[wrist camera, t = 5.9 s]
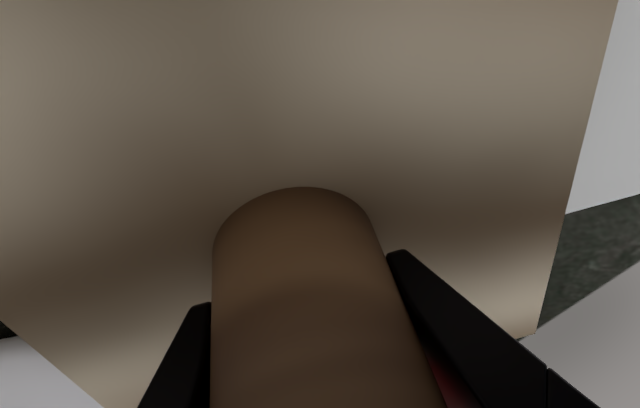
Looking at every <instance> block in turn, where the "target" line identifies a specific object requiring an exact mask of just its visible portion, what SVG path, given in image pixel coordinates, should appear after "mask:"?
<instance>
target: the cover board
mask: <svg viewBox="0 0 640 408" xmlns="http://www.w3.org/2000/svg"><path fill="white" fill-rule="evenodd" d="M617 4H618V0H0V321H1V322H3V323H4V324H5V325H6V326H7V327H9V328H10V329H11V330H12V331H13V332H14V333H16V334H17V335H18V336H19V337H20V338H22V339H23V340H24V341H25V342H26V343H28V344H29V345H30V346H31V347H32V348H33V349H35V350H36V351H37V352H38V353H39V354H41V355H42V356H43V357H44V358H45V359H47V360H48V361H49V362H50V363H51V364H53V365H54V366H55V367H56V368H57V369H58V370H60V371H61V372H62V373H63V374H64V375H66V376H67V377H68V378H69V379H70V380H72V381H73V382H74V383H75V384H76V385H77V386H79V387H80V388H81V389H82V390H83V391H85V392H86V393H87V394H88V395H89V396H91V397H92V398H93V399H94V400H95V401H96V402H98V403H99V404H100V405H101V406H102V407H104V408H137V407H138V405H139V403H140V401H141V399H142V397H143V395H144V393H145V392H146V390H147V388H148V386H149V384H150V382H151V380H152V378H153V376H154V375H155V373H156V371H157V369H158V367H159V365H160V363H161V361H162V360H163V358H164V356H165V354H166V352H167V350H168V348H169V346H170V344H171V343H172V341H173V339H174V337H175V335H176V333H177V331H178V329H179V327H180V326H181V324H182V322H183V320H184V318H185V316H186V314H187V312H188V310H189V309H190V308H191V307H192V306H194V305H197V304H201V303H204V302H211V356H210V408H448V407H447V405H446V402H445V400H444V398H443V395H442V393H441V390H440V388H439V385H438V383H437V381H436V378H435V376H434V373H433V371H432V369H431V366H430V364H429V361H428V359H427V356H426V354H425V352H424V349H423V347H422V344H421V342H420V340H419V337H418V335H417V332H416V330H415V328H414V325H413V323H412V320H411V318H410V315H409V313H408V311H407V308H406V306H405V304H404V301H403V299H402V296H401V294H400V291H399V289H398V287H397V284H396V282H395V279H394V277H393V274H392V272H391V270H390V267H389V265H388V262H387V260H386V254H387V253H389V252H393V251H396V250H400V249H405V250H407V251H409V252H410V253H411V254H412V255H413V256H415V257H416V258H417V259H418V260H420V261H421V262H422V263H423V264H424V265H426V266H427V267H428V268H429V269H430V270H432V271H433V272H434V273H435V274H437V275H438V276H439V277H440V278H441V279H443V280H444V281H445V282H446V283H447V284H449V285H450V286H451V287H452V288H454V289H455V290H456V291H457V292H458V293H460V294H461V295H462V296H463V297H465V298H466V299H467V300H468V301H469V302H471V303H472V304H473V305H474V306H475V307H477V308H478V309H479V310H480V311H482V312H483V313H484V314H485V315H486V316H488V317H489V318H490V319H491V320H492V321H494V322H495V323H496V324H497V325H499V326H500V327H501V328H502V329H503V330H505V331H506V332H507V333H508V334H510V335H511V336H512V337H513V338H514V339H517V338H521V337H524V336H528V335H532V334H535V332H536V328H537V324H538V320H539V316H540V312H541V308H542V304H543V300H544V296H545V292H546V288H547V284H548V280H549V276H550V272H551V268H552V264H553V260H554V256H555V252H556V248H557V244H558V240H559V236H560V232H561V228H562V224H563V220H564V216H565V212H566V208H567V204H568V200H569V196H570V192H571V188H572V184H573V180H574V176H575V172H576V168H577V164H578V160H579V156H580V152H581V148H582V144H583V140H584V136H585V132H586V128H587V124H588V120H589V116H590V112H591V108H592V104H593V100H594V96H595V92H596V88H597V84H598V80H599V76H600V72H601V68H602V64H603V60H604V56H605V52H606V48H607V44H608V40H609V36H610V32H611V28H612V24H613V20H614V16H615V12H616V8H617Z"/></svg>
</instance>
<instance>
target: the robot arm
mask: <svg viewBox="0 0 640 408" xmlns="http://www.w3.org/2000/svg"><path fill="white" fill-rule="evenodd" d="M386 260H387V262H388V265H389V267H390V270H391V272H392V274H393V277H394V279H395V282H396V284H397V287H398V289H399V291H400V294H401V296H402V299H403V301H404V304H405V306H406V308H407V311H408V313H409V315H410V318H411V320H412V323H413V325H414V328H415V330H416V332H417V335H418V337H419V340H420V342H421V344H422V347H423V349H424V352H425V354H426V356H427V359H428V361H429V364H430V366H431V369H432V371H433V373H434V376H435V378H436V381H437V383H438V385H439V388H440V390H441V393H442V395H443V398H444V400H445V402H446V405H447V407H448V408H600V407H599V406H597V405H596V404H595V403H593V402H592V401H591V400H590V399H588V398H587V397H586V396H584V395H583V394H582V393H581V392H579V391H578V390H577V389H576V388H574V387H573V386H572V385H571V384H569V383H568V382H567V381H566V380H564V379H563V378H562V377H561V376H560V375H558V374H557V373H556V372H555V371H553V370H552V369H550V368H548V369H547V366H546V364H545V363H544V362H542V361H541V360H540V359H539V358H537V357H536V356H535V355H534V354H532V353H531V352H530V351H529V350H528V349H527V348H525V347H524V346H523V345H522V344H520V343H519V342H518V341H517V340H516V339H514V338H513V337H512V336H511V335H510V334H508V333H507V332H506V331H505V330H503V329H502V328H501V327H500V326H499V325H497V324H496V323H495V322H494V321H492V320H491V319H490V318H489V317H488V316H486V315H485V314H484V313H483V312H482V311H480V310H479V309H478V308H477V307H475V306H474V305H473V304H472V303H471V302H469V301H468V300H467V299H466V298H465V297H463V296H462V295H461V294H460V293H458V292H457V291H456V290H455V289H454V288H452V287H451V286H450V285H449V284H447V283H446V282H445V281H444V280H443V279H441V278H440V277H439V276H438V275H437V274H435V273H434V272H433V271H432V270H430V269H429V268H428V267H427V266H426V265H424V264H423V263H422V262H421V261H420V260H418V259H417V258H416V257H415V256H413V255H412V254H411V253H410V252H409V251H407V250H405V249H400V250H396V251H393V252H389V253H387V254H386ZM210 356H211V302H204V303H201V304H197V305H194V306H192V307H191V308H190V309H189V310H188V312H187V314H186V316H185V318H184V320H183V322H182V324H181V326H180V327H179V329H178V331H177V333H176V335H175V337H174V339H173V341H172V343H171V344H170V346H169V348H168V350H167V352H166V354H165V356H164V358H163V360H162V361H161V363H160V365H159V367H158V369H157V371H156V373H155V375H154V376H153V378H152V380H151V382H150V384H149V386H148V388H147V390H146V392H145V393H144V395H143V397H142V399H141V401H140V403H139V405H138V407H137V408H210Z"/></svg>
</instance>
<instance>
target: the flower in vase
mask: <svg viewBox="0 0 640 408" xmlns="http://www.w3.org/2000/svg"><path fill="white" fill-rule="evenodd" d="M0 408H104V407H102V406H101V405H100V404H99V403H98V402H96V401H95V400H94V399H93V398H92V397H91V396H89V395H88V394H87V393H86V392H85V391H83V390H82V389H81V388H80V387H79V386H77V385H76V384H75V383H74V382H73V381H72V380H70V379H69V378H68V377H67V376H66V375H64V374H63V373H62V372H61V371H60V370H58V369H57V368H56V367H55V366H54V365H53V364H51V363H50V362H49V361H48V360H47V359H45V358H44V357H43V356H42V355H41V354H39V353H38V352H37V351H36V350H35V349H33V348H32V347H31V346H30V345H29V344H28V343H26V342H25V341H24V340H23V339H22V338H20V337H19V336H15V337H10V338H5V339H0Z"/></svg>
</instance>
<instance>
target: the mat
mask: <svg viewBox="0 0 640 408" xmlns="http://www.w3.org/2000/svg"><path fill="white" fill-rule="evenodd" d="M637 194H640V0H618V4H617V8H616V12H615V16H614V20H613V24H612V28H611V32H610V36H609V40H608V44H607V48H606V52H605V56H604V60H603V64H602V68H601V72H600V76H599V80H598V84H597V88H596V92H595V96H594V100H593V104H592V108H591V112H590V116H589V120H588V124H587V128H586V132H585V136H584V140H583V144H582V148H581V152H580V156H579V160H578V164H577V168H576V172H575V176H574V180H573V184H572V188H571V192H570V196H569V200H568V204H567V208H566V212H565V214H567V213H571V212H574V211H578V210H582V209H585V208H589V207H593V206H596V205H600V204H604V203H608V202H611V201H615V200H619V199H622V198H626V197H630V196H633V195H637Z"/></svg>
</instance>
